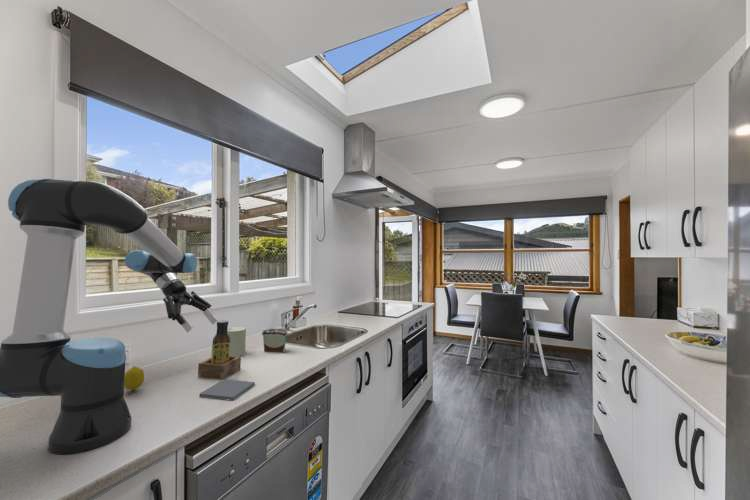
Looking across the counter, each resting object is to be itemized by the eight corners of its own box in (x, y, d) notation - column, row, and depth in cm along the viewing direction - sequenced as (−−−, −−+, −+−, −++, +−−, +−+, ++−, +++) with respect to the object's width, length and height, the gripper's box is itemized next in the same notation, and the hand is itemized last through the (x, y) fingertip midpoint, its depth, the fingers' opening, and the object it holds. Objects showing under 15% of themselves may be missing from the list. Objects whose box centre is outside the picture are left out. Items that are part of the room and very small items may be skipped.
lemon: (147, 388, 103) (148, 364, 103) (130, 395, 98) (131, 370, 98) (135, 386, 105) (136, 363, 105) (118, 393, 99) (119, 368, 100)
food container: (291, 349, 150) (291, 328, 150) (286, 353, 144) (286, 331, 144) (267, 348, 151) (267, 327, 151) (261, 352, 145) (261, 330, 145)
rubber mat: (233, 400, 96) (233, 397, 96) (199, 396, 98) (199, 393, 98) (254, 384, 108) (254, 382, 108) (224, 381, 110) (224, 379, 110)
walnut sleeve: (223, 379, 112) (223, 365, 112) (198, 377, 114) (198, 363, 114) (240, 369, 122) (240, 356, 122) (217, 367, 124) (217, 354, 124)
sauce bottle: (211, 377, 114) (212, 323, 114) (210, 371, 119) (211, 320, 120) (230, 374, 117) (231, 321, 118) (228, 369, 122) (229, 319, 123)
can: (223, 352, 143) (224, 326, 144) (245, 350, 147) (245, 325, 148) (223, 358, 135) (224, 331, 135) (246, 355, 139) (246, 329, 139)
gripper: (189, 289, 136) (218, 325, 133) (136, 296, 112) (171, 340, 109) (200, 277, 136) (229, 313, 133) (149, 282, 111) (184, 326, 108)
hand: (203, 325), depth 121 cm, fingers open, 13 cm apart
